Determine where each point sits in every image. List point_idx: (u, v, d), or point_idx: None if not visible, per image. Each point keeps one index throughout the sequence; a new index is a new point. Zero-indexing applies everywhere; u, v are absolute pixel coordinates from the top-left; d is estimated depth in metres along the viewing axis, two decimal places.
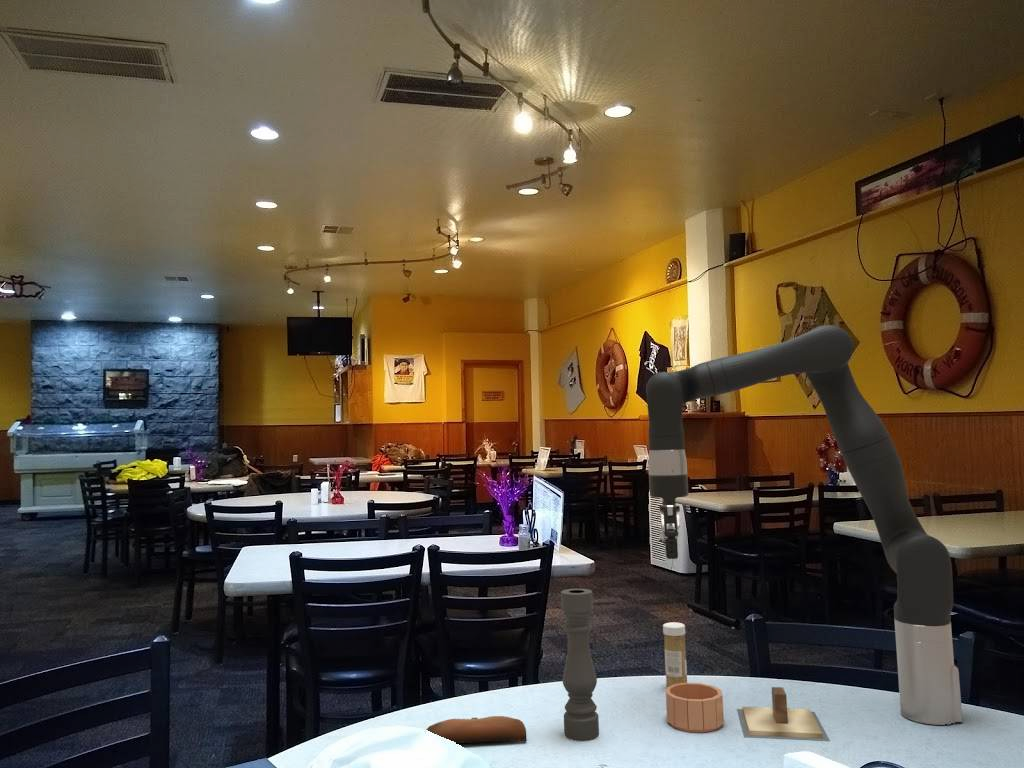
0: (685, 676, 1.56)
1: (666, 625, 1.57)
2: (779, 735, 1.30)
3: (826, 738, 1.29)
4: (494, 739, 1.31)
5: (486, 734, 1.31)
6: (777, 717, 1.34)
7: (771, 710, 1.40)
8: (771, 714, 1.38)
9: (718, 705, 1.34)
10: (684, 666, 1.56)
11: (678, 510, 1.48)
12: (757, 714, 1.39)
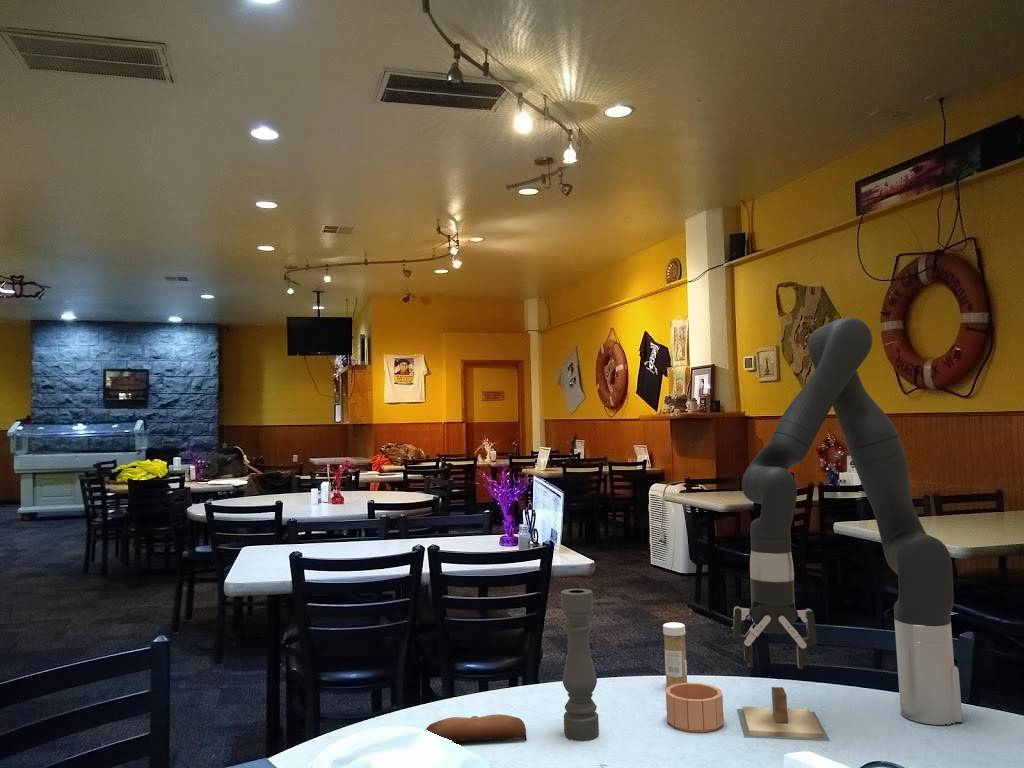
0: (685, 676, 1.56)
1: (666, 625, 1.57)
2: (779, 735, 1.30)
3: (826, 738, 1.29)
4: (494, 737, 1.32)
5: (486, 732, 1.32)
6: (777, 717, 1.34)
7: (771, 710, 1.40)
8: (771, 714, 1.38)
9: (718, 705, 1.34)
10: (684, 666, 1.56)
11: None
12: (757, 714, 1.39)
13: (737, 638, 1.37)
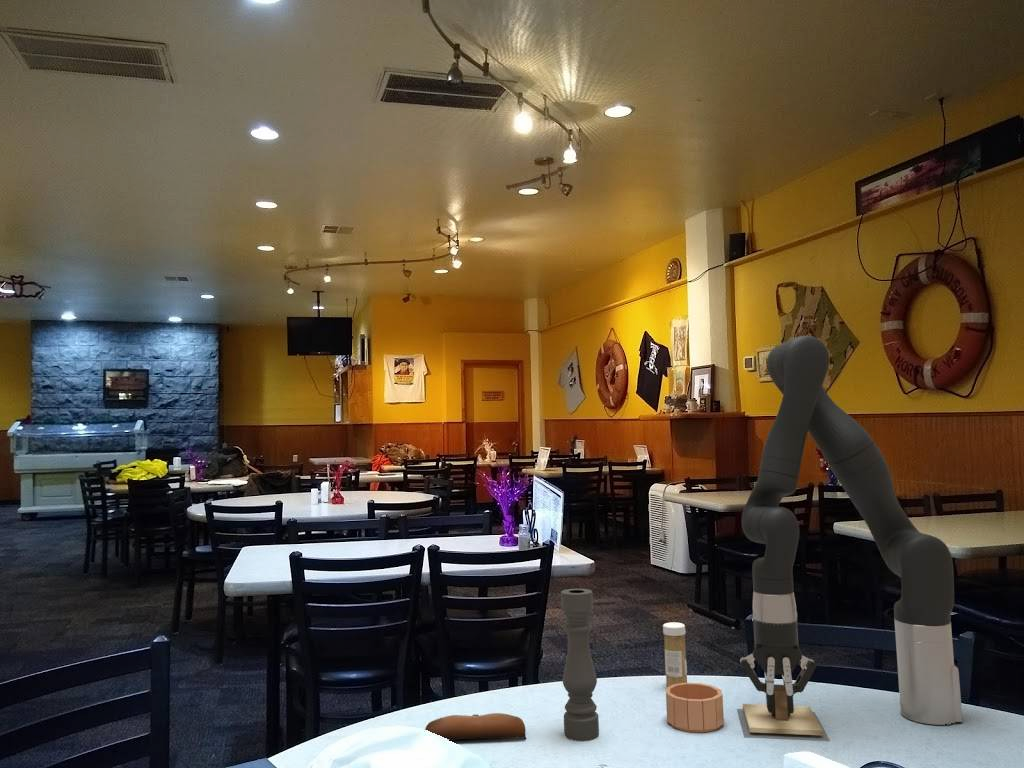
0: (685, 676, 1.56)
1: (666, 625, 1.57)
2: (779, 732, 1.30)
3: (826, 738, 1.29)
4: (493, 736, 1.32)
5: (486, 731, 1.32)
6: (777, 714, 1.34)
7: None
8: None
9: (718, 705, 1.34)
10: (684, 666, 1.56)
11: None
12: (757, 711, 1.39)
13: (759, 687, 1.36)
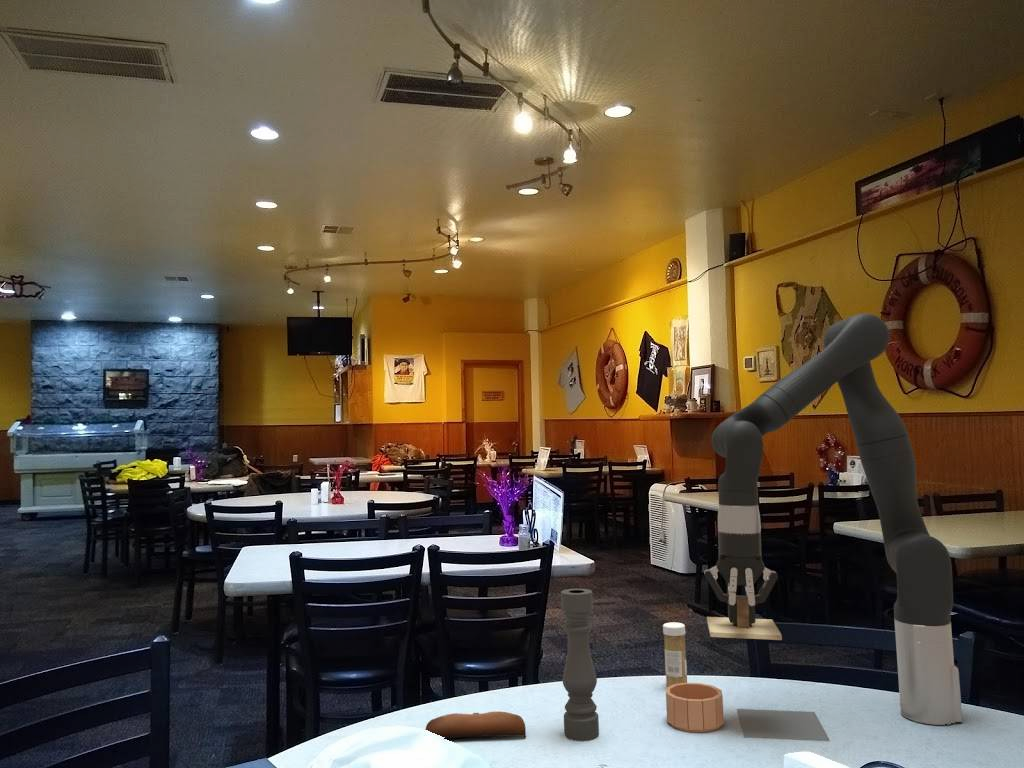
0: (685, 676, 1.56)
1: (666, 625, 1.57)
2: (739, 637, 1.32)
3: (826, 738, 1.29)
4: (493, 734, 1.33)
5: (486, 729, 1.33)
6: (739, 622, 1.36)
7: None
8: None
9: (718, 705, 1.34)
10: (684, 666, 1.56)
11: None
12: (720, 622, 1.41)
13: (721, 597, 1.38)
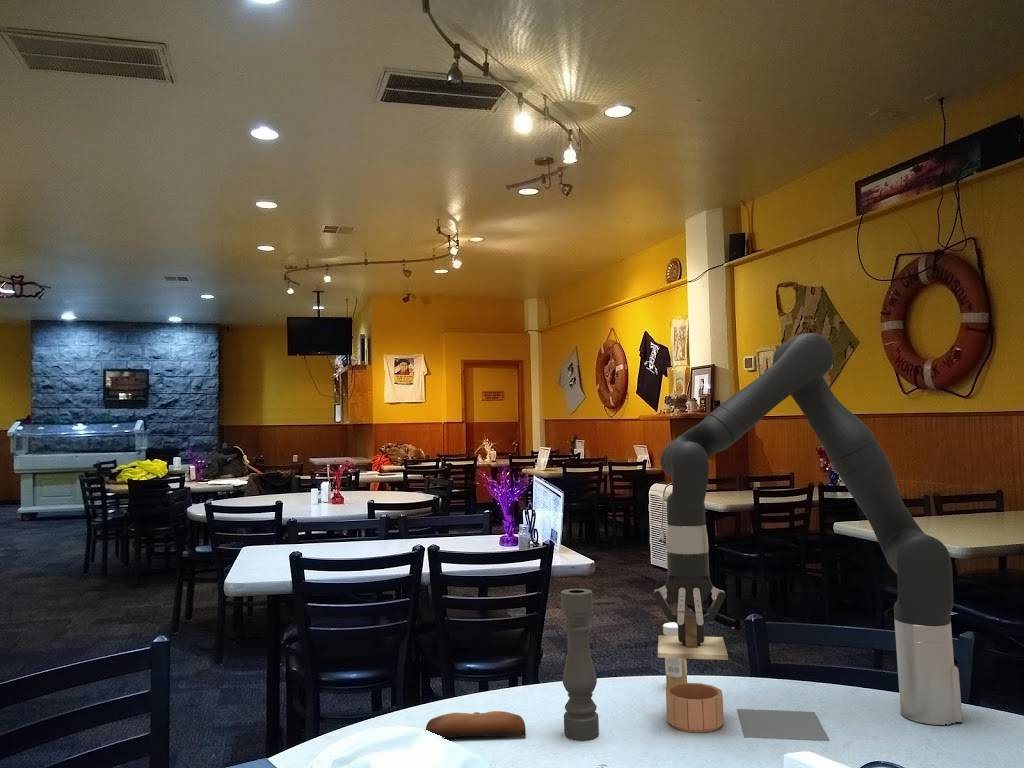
0: (685, 676, 1.56)
1: (666, 625, 1.57)
2: (686, 657, 1.33)
3: (826, 738, 1.29)
4: (493, 733, 1.33)
5: (486, 729, 1.34)
6: (687, 641, 1.37)
7: None
8: None
9: (718, 705, 1.34)
10: (684, 666, 1.56)
11: None
12: (670, 641, 1.42)
13: (670, 617, 1.39)
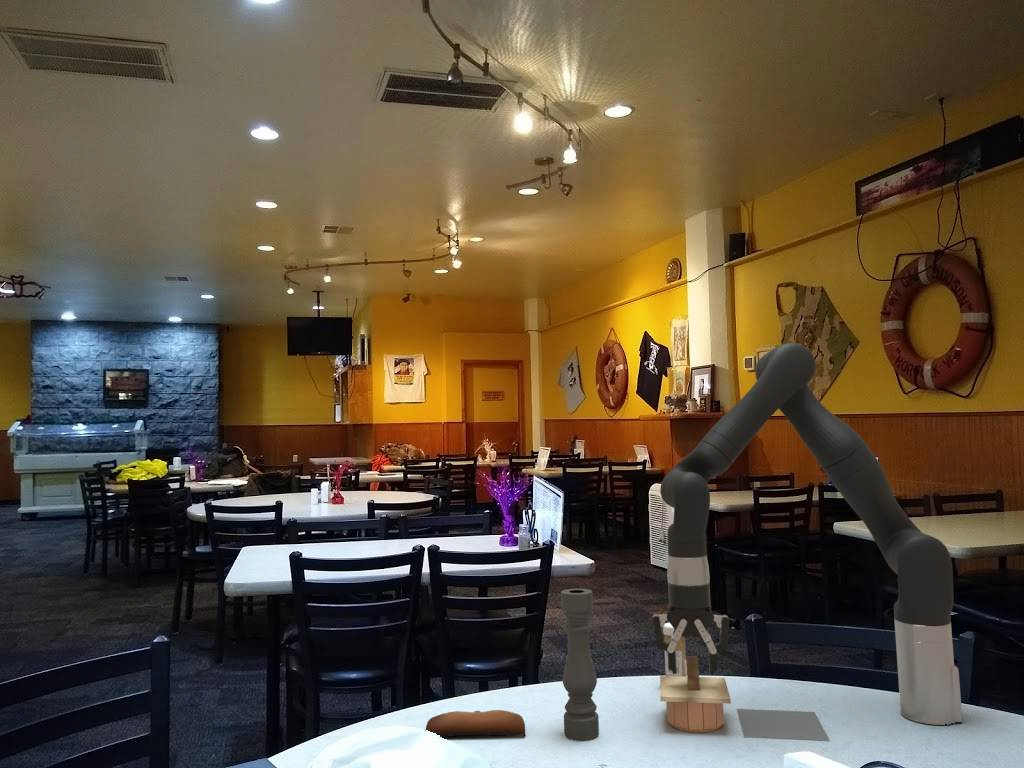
0: (685, 676, 1.56)
1: (666, 625, 1.57)
2: (689, 701, 1.32)
3: (826, 738, 1.29)
4: (493, 732, 1.34)
5: (486, 727, 1.34)
6: (689, 684, 1.36)
7: (687, 679, 1.43)
8: (686, 682, 1.41)
9: (718, 705, 1.34)
10: (684, 666, 1.56)
11: None
12: (672, 682, 1.41)
13: (660, 645, 1.39)
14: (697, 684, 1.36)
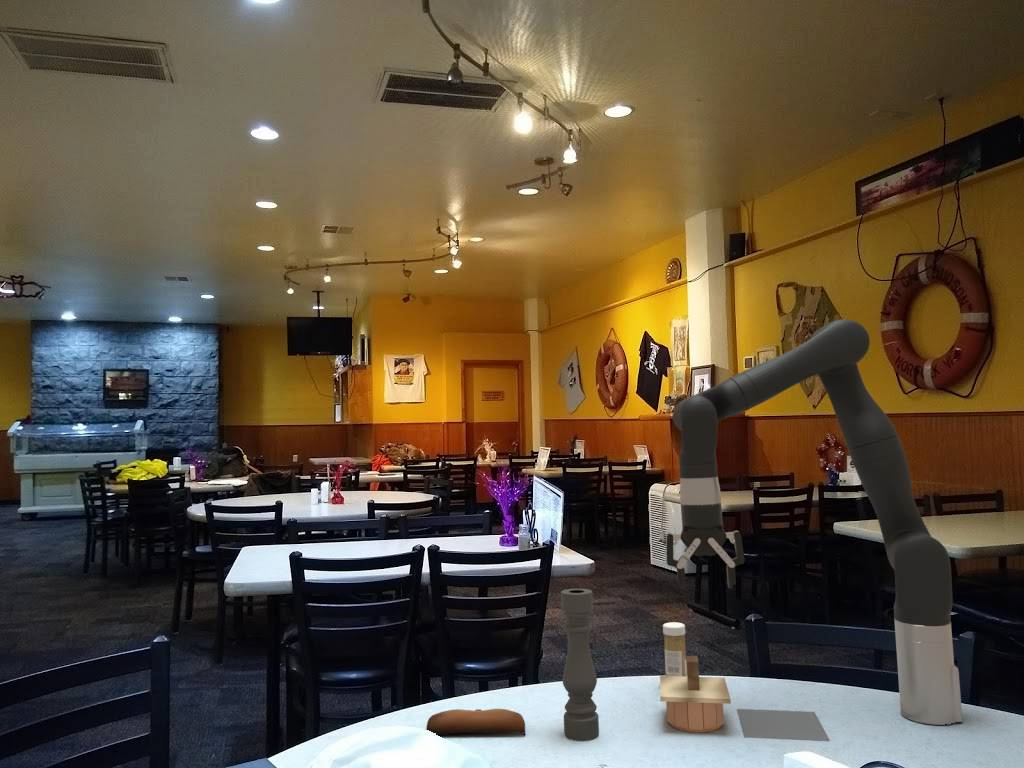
0: (685, 676, 1.56)
1: (666, 625, 1.57)
2: (689, 701, 1.32)
3: (826, 738, 1.29)
4: (493, 731, 1.35)
5: (486, 726, 1.35)
6: (689, 684, 1.36)
7: (687, 679, 1.43)
8: (686, 682, 1.41)
9: (718, 705, 1.34)
10: (684, 666, 1.56)
11: None
12: (672, 682, 1.41)
13: (670, 562, 1.43)
14: (697, 684, 1.36)
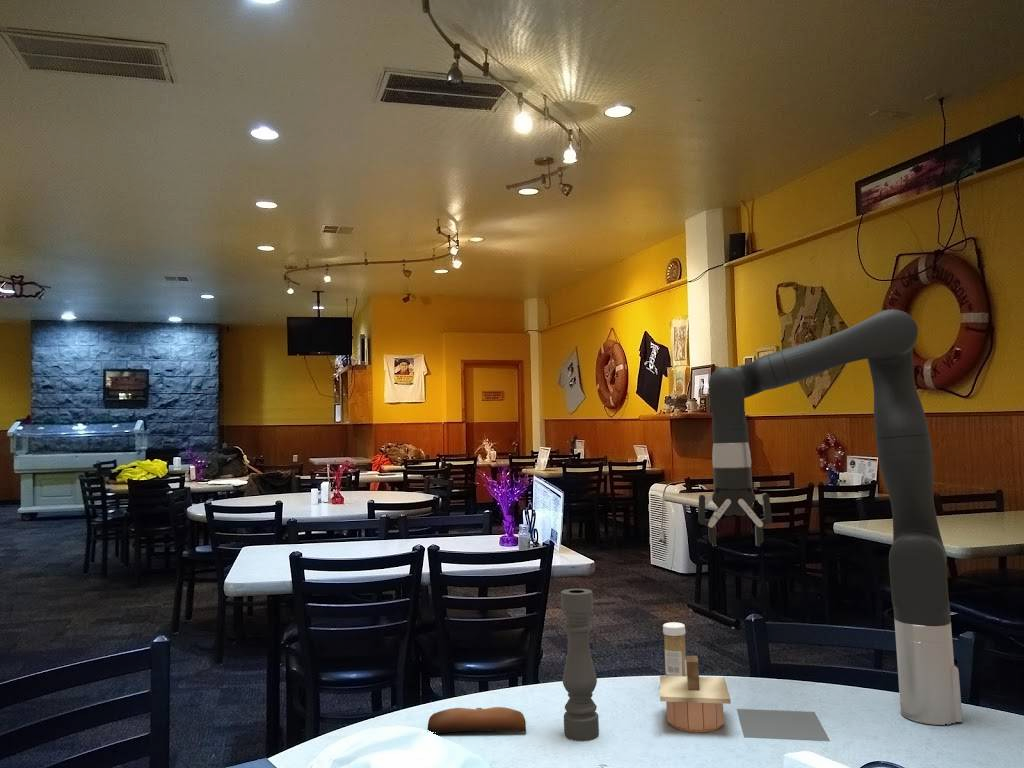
0: None
1: (666, 625, 1.57)
2: (689, 701, 1.32)
3: (826, 738, 1.29)
4: (494, 729, 1.35)
5: (487, 724, 1.36)
6: (689, 684, 1.36)
7: (687, 679, 1.43)
8: (686, 682, 1.41)
9: (718, 705, 1.34)
10: (684, 666, 1.56)
11: None
12: (672, 682, 1.41)
13: (702, 521, 1.53)
14: (697, 684, 1.36)
